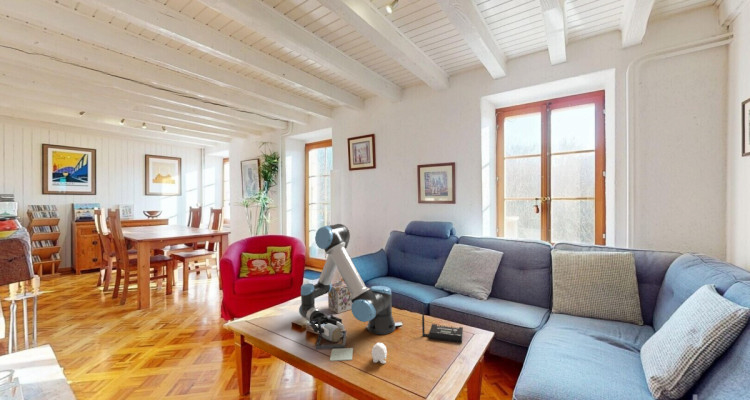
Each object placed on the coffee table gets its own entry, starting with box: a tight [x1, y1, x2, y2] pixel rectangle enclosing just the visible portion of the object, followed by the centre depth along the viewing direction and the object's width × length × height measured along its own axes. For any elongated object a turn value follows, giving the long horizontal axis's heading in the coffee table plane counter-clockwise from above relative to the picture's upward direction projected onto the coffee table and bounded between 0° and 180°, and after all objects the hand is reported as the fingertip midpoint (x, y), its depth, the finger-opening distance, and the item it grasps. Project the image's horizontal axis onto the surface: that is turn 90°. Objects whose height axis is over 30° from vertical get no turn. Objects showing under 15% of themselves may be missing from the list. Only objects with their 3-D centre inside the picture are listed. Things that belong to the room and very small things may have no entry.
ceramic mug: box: [321, 323, 344, 343], centre depth 162 cm, size 11×8×8 cm
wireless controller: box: [421, 303, 464, 344], centre depth 163 cm, size 20×14×17 cm
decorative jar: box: [327, 280, 353, 314], centre depth 203 cm, size 12×12×18 cm
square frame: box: [315, 329, 348, 350], centre depth 160 cm, size 14×16×2 cm
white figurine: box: [371, 342, 388, 365], centre depth 142 cm, size 6×8×12 cm
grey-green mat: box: [329, 347, 354, 362], centre depth 147 cm, size 10×10×1 cm
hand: (336, 330), depth 156 cm, fingers closed on ceramic mug, 8 cm apart
